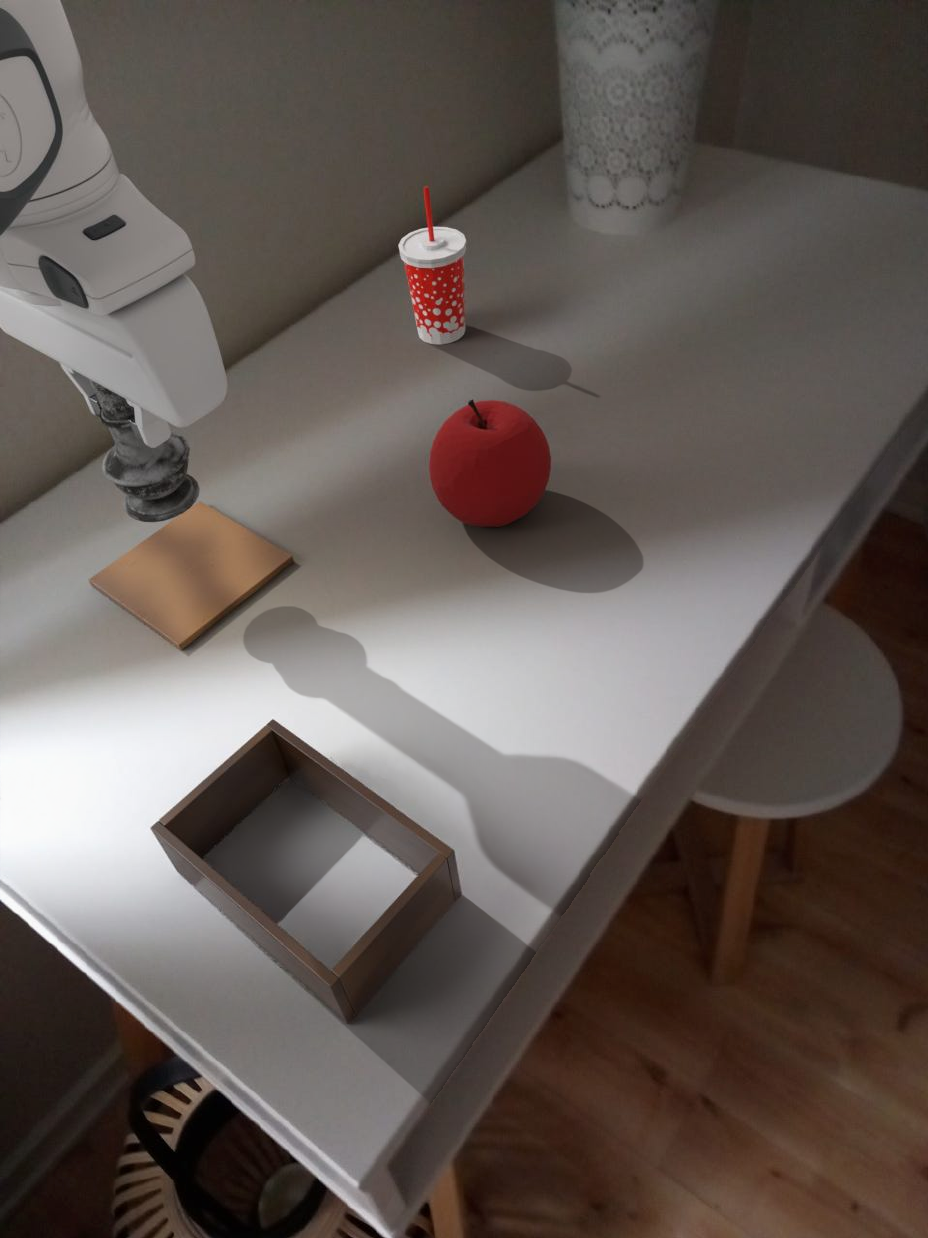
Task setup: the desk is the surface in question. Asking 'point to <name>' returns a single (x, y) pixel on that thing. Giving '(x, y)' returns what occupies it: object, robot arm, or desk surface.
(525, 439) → the apple
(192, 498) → the grey stone turned piece
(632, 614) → the desk surface
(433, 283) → the beverage cup
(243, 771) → the open wooden box
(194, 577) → the trivet
